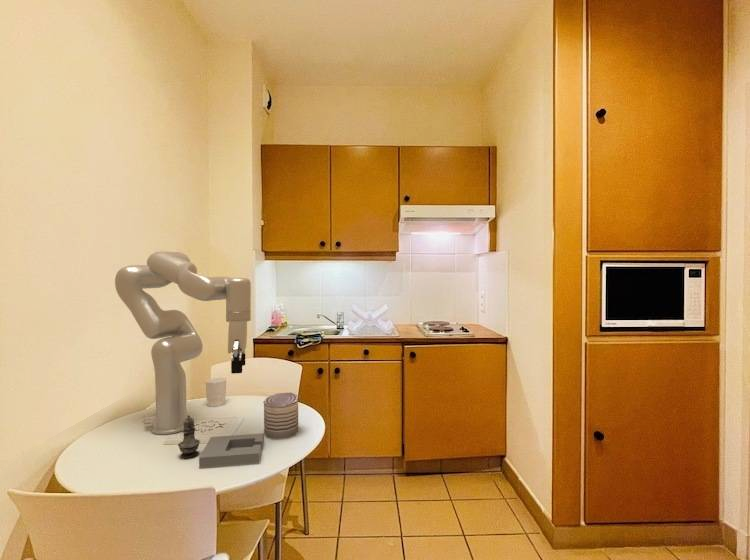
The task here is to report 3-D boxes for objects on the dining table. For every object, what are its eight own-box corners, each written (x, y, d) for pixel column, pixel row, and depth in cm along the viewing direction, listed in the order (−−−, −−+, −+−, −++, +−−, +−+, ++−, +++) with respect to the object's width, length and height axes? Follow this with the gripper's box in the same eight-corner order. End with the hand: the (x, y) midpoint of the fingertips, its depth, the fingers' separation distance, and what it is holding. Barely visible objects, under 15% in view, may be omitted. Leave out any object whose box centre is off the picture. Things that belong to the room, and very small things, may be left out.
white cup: (230, 404, 165) (229, 379, 165) (211, 408, 159) (210, 383, 159) (221, 399, 170) (220, 376, 170) (202, 404, 165) (202, 379, 164)
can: (305, 432, 137) (305, 397, 136) (277, 443, 128) (277, 405, 127) (284, 423, 144) (284, 390, 144) (257, 433, 135) (256, 398, 135)
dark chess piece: (177, 461, 116) (177, 420, 115) (178, 452, 121) (178, 413, 121) (200, 457, 118) (199, 417, 118) (200, 449, 124) (199, 410, 123)
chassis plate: (199, 468, 112) (199, 457, 112) (211, 446, 125) (210, 436, 125) (258, 463, 114) (258, 453, 114) (264, 442, 128) (263, 433, 128)
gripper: (229, 313, 137) (229, 363, 138) (222, 320, 120) (222, 377, 121) (252, 313, 139) (252, 362, 139) (248, 319, 122) (248, 375, 122)
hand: (238, 369), depth 130 cm, fingers open, 9 cm apart
